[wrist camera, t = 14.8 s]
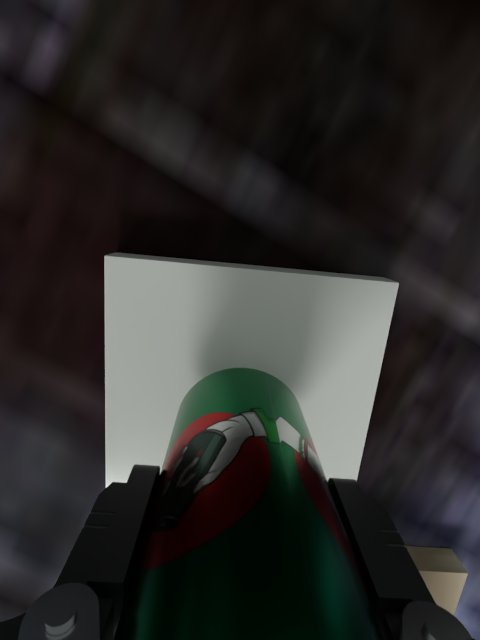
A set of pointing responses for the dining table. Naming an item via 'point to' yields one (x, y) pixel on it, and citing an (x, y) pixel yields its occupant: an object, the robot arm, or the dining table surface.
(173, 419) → the tile
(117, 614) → the robot arm
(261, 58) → the dining table surface
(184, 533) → the soda can
